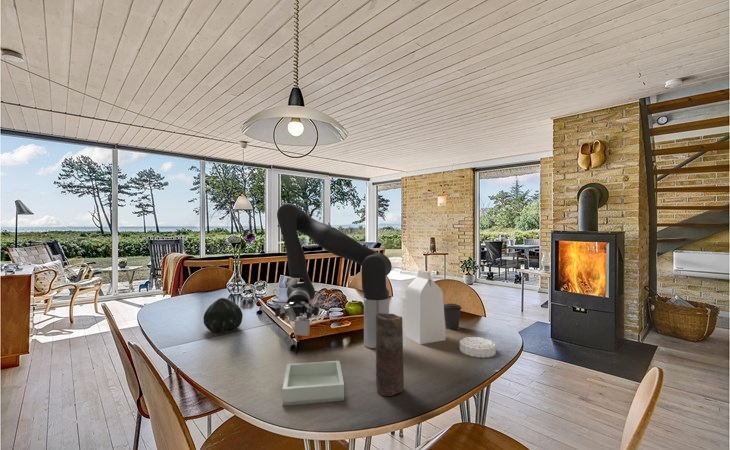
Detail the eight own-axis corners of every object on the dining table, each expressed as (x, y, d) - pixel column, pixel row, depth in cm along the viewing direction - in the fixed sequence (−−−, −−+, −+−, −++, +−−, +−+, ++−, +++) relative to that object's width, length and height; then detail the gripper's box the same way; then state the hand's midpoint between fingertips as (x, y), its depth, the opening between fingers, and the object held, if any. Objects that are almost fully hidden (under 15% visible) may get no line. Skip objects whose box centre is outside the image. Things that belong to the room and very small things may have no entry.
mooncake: (466, 343, 124) (466, 333, 124) (500, 350, 117) (499, 339, 117) (454, 353, 115) (454, 342, 115) (490, 361, 108) (490, 350, 108)
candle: (374, 383, 92) (374, 311, 92) (400, 382, 92) (400, 310, 93) (377, 397, 84) (377, 318, 84) (406, 396, 85) (406, 318, 85)
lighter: (309, 334, 98) (310, 306, 98) (307, 335, 96) (308, 308, 96) (287, 332, 99) (287, 305, 99) (284, 334, 98) (285, 306, 98)
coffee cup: (464, 330, 139) (464, 306, 139) (444, 330, 139) (444, 306, 139) (458, 324, 147) (458, 302, 147) (440, 324, 147) (440, 302, 147)
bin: (339, 374, 98) (339, 360, 98) (344, 400, 83) (344, 384, 83) (287, 377, 95) (287, 363, 95) (282, 405, 81) (282, 389, 81)
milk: (403, 334, 134) (403, 270, 134) (427, 331, 138) (427, 268, 138) (419, 344, 123) (419, 273, 123) (445, 340, 127) (445, 272, 127)
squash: (234, 310, 151) (214, 289, 143) (254, 316, 142) (234, 294, 134) (211, 337, 143) (188, 316, 134) (231, 345, 134) (208, 324, 126)
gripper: (276, 291, 111) (269, 303, 94) (320, 290, 113) (321, 302, 96) (276, 314, 111) (269, 330, 94) (320, 312, 113) (320, 328, 96)
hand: (295, 316), depth 95 cm, fingers closed on lighter, 6 cm apart
